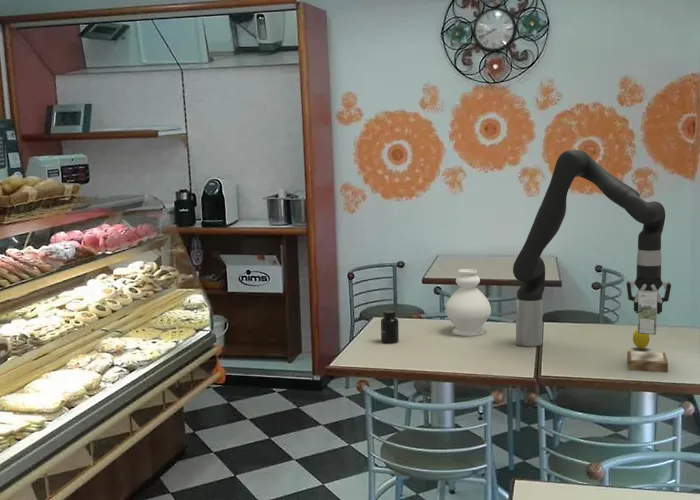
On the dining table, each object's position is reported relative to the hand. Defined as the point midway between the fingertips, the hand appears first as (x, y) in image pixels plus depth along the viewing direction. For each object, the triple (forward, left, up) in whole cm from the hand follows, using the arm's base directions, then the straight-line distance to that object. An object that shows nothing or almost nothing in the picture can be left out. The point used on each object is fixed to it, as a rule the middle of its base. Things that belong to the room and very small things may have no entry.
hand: (647, 313), depth 254 cm
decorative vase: (-65, +33, -18) cm, 75 cm away
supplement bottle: (-92, +13, -18) cm, 95 cm away
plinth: (0, 0, -18) cm, 18 cm away
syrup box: (0, 0, -7) cm, 7 cm away
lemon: (-1, +20, -18) cm, 27 cm away
